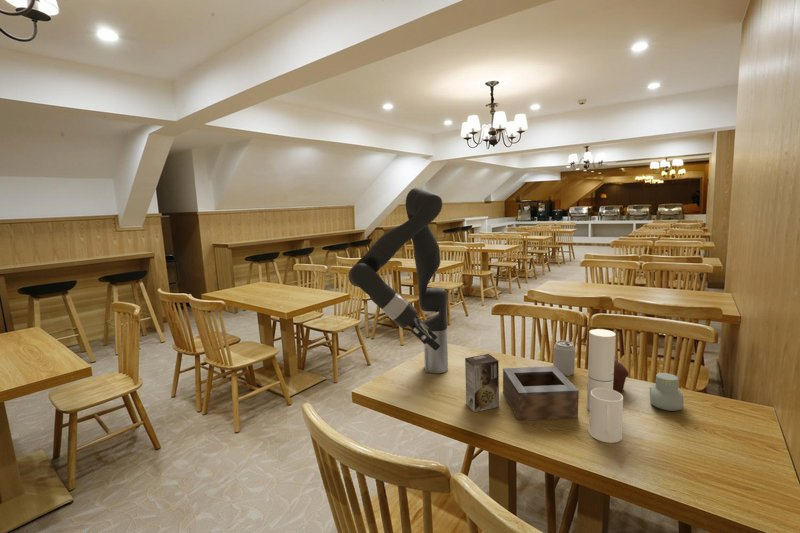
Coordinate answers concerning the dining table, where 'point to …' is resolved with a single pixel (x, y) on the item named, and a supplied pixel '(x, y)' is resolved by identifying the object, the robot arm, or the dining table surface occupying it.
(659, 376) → the air freshener
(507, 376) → the drop box
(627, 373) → the muffin
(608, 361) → the cylindrical container
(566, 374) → the can
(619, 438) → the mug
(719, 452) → the dining table surface
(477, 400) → the coffee box
